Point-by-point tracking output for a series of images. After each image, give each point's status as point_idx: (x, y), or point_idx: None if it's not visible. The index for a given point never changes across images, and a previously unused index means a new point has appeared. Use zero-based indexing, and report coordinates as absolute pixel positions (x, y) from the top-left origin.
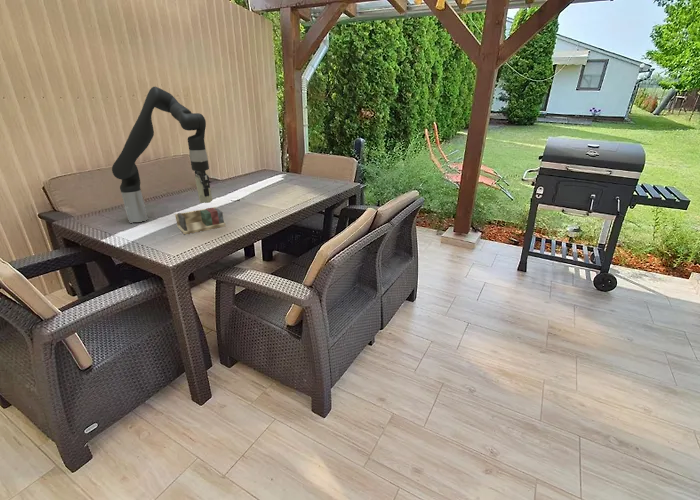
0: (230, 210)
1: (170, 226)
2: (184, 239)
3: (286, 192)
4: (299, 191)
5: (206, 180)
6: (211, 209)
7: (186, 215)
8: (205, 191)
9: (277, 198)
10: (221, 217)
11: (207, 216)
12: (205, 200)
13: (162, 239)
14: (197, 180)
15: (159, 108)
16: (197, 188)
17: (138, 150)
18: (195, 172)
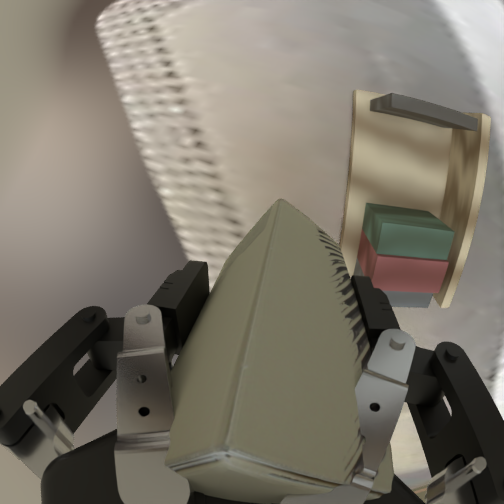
0: (459, 340)
1: (482, 105)
2: (299, 72)
3: (423, 453)
4: (402, 465)
5: (56, 407)
6: (416, 278)
7: (471, 162)
8: (153, 296)
9: (413, 438)
10: None
11: (376, 228)
12: (239, 246)
13: (357, 14)
14: (202, 384)
15: None
16: (260, 263)
17: None
18: (495, 492)
